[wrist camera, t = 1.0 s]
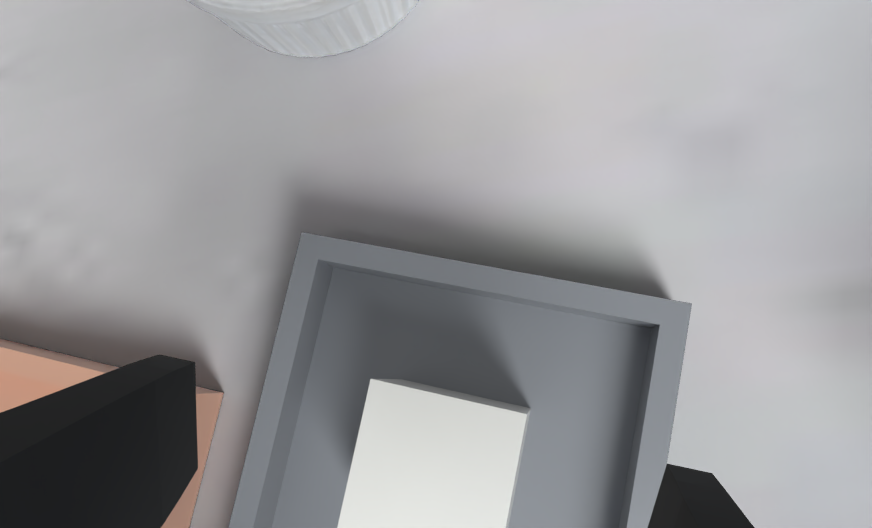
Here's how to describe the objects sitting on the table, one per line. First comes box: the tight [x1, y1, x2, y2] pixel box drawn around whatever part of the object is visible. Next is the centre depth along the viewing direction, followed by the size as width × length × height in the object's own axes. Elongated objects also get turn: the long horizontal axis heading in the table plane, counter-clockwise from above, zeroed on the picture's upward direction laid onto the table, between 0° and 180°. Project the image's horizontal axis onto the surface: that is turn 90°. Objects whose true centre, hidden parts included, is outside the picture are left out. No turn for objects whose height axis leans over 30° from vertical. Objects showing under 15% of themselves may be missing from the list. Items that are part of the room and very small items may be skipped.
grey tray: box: [228, 232, 692, 528], centre depth 21 cm, size 13×13×2 cm
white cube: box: [337, 379, 531, 528], centre depth 19 cm, size 4×4×4 cm
